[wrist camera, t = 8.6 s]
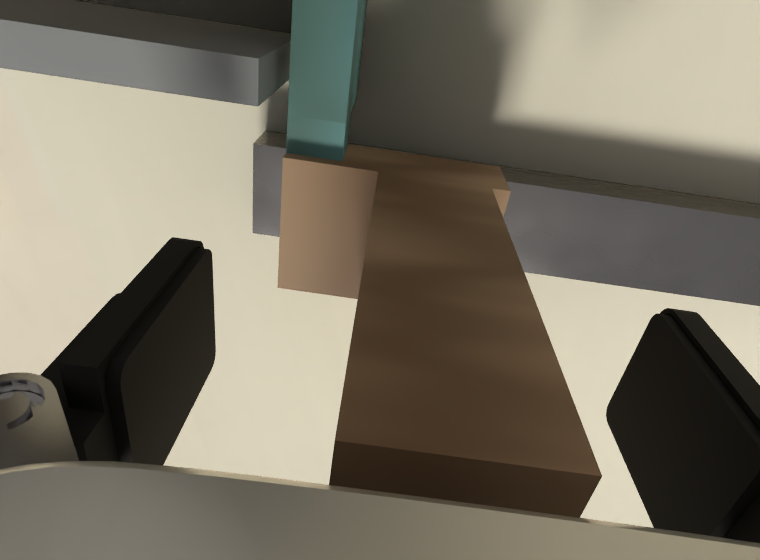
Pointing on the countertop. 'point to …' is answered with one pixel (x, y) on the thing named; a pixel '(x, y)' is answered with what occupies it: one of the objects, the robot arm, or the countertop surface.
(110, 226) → the countertop surface
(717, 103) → the countertop surface
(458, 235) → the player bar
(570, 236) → the rail
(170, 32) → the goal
